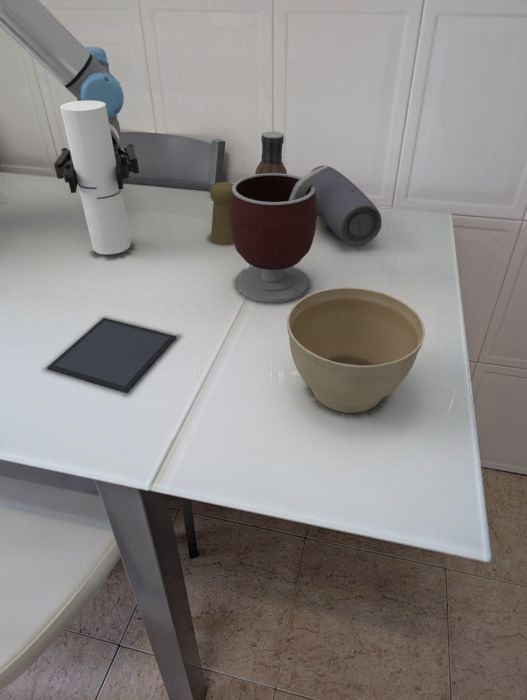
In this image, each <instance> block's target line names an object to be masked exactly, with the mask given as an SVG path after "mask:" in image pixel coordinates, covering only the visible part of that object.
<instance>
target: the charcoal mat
mask: <svg viewBox="0 0 527 700" xmlns="http://www.w3.org/2000/svg"><path fill="white" fill-rule="evenodd" d="M176 338H177V336H176V335H172V334H169V333H164V332H160V331H157V330H154V329H150V328H145V327H141V326H137V325H133V324H131V323H126V322H122V321H117V320H113V319H110V318H106V317H103V318H101V319H100V320H99V321H98V322H97V323H96V324H95V325H94V326H92V327H91V328H90V329H89V330H88V331H87V332H85V334H83V335H82V336H81V337H79V339H78V340H76V341H75V342H74V343H73V344H72V345H71V346H70V347H68V348H67V349H66V350H65V351H64V352H62V354H60V356H58V357H57V358H56V359H55V360H54V361H53V362H51V363H50V364H49V365H48V366H46V368H47V370H50V371H53V372H56V373H59V374H64V375H66V376H69V377H73V378H76V379H79V380H82V381H86V382H89V383H93V384H96V385H100V386H103V387H106V388H109V389H112V390H115V391H119V392H123V393H126V394H127V393H128V392H130V390H131V389H132V388H133V387H134V386H135V384H137V382H138V381H139V380H140V379H141V378H142V377H143V375H145V373H146V372H147V371H148V370H149V369H150V368H151V367H152V365H153V364H154V363H155V362H156V361H157V360H158V359H159V358H160V356H161V355H163V353H164V352H165V351H166V350H167V349H168V348H169V346H170V345H171V344H172V343H173V342H174V341H175V340H176Z"/></svg>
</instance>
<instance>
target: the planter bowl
mask: <svg viewBox="0 0 527 700" xmlns="http://www.w3.org/2000/svg"><path fill="white" fill-rule="evenodd" d="M286 329H287V333H288V337H289V338H288V339H289V348H290V353H291V357H292V360H293V364H294V366H295V367H296V370H297V371H298V373H299V376H300V377H301V378H302V380H303V381H304V383H305V384H306V385H307V387H308V388H309V389H310V390H311V392H312V395H313V396H314V398H315V399H316V400H317V401H318V402H319V403H320V404H321V405H323V406H324V407H327V408H328V409H331V410H332V411H336V412H340V413H346V414H355V413H356V414H357V413H362V412H366V411H369V410H370V409H373V408H374V407H376V406H377V405H378V404H379V403H380V402H381V401H382V399H384V398H385V397H387V396H389V395H390V394H391V393H392V392H393V391H395V390H396V389H397V388H398V387H399V386H400V385H401V384H402V382H403V381H404V380H405V379H406V378H407V376H408V375H409V373H410V371H411V370H412V368H413V367H414V364H415V362H416V359H417V357H418V354H419V352H420V350H421V348H422V346H423V343H424V340H425V335H426V329H425V325H424V322H423V320H422V318H421V316H420V315H419V313H418V312H417V311H416V310H414V308H413V307H412V306H410V305H409V304H407V303H406V302H405V301H403V300H401V299H400V298H397V297H395V296H394V295H391V294H388V293H385V292H382V291H379V290H374V289H370V288H363V287H352V286H351V287H350V286H349V287H348V286H347V287H346V286H343V287H342V286H341V287H329V288H325V289H321V290H317V291H314V292H311V293H309V294H307V295H306V296H303V297H302V298H300V299H299V300H298V301H297V302H296V303H294V305H293V306H292V307H291V308H290V311H289V313H288V315H287V319H286Z"/></svg>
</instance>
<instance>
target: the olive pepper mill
mask: <svg viewBox="0 0 527 700" xmlns="http://www.w3.org/2000/svg"><path fill="white" fill-rule="evenodd" d="M233 184H234V183H231V182H228V181H220V182H215V183H214V184H212V186H211V187H210V190H209V196H210V199H211V201H212V216H211V217H212V218H211V229H210V231H211V233H210V240H211V241H212V242H213V243H215V244H218V245H219V244H220V245H231V244H234V242H233V239H232V234H231V229H230V201H231V195H232V186H233Z"/></svg>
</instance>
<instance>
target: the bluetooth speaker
mask: <svg viewBox="0 0 527 700" xmlns="http://www.w3.org/2000/svg"><path fill="white" fill-rule="evenodd" d="M324 166H325V165H319V166H316V167H314V168H313V169H312V170H311V171H310V172H312V171H314V170H317V169H319V168H321V167H324ZM328 167H329V171H326V172H324V173H322V174H321V175H319V176H318V177H317V178H316V179H315V180H314V181H313V183H312V184H313V185H314V186H315V196H316V205H317V216H318V217H319V218H320V219H321V221H322V222H323V223H324V224H325V225H326V226H327V227H328V228H329V229H330V230H331V231H332V233H333V234H334V235H335V236H336V237H338V238H339V239H340V240H342V241H343V242H344V243H346V244H347V245H349V246H351V247H360V246H365V245H367V244H369V243H371V242H372V241H374V239H375V238H377V236H378V235H379V233H380V231H381V229H382V225H383V223H382V222H383V221H382V216H381V212H380V211H379V210H378V208H377V207H376V205H375V204H374V203H373V202H372V201H371V199H370V198H369V197H368V196H367V195H366V194H365V193H364V192H363V191H362V190H361V188H359V187H358V186H357V185H356V184H354V182H352V181H351V180H350V179H348V177H346V176H345V175H343V173H342V172H339V170H337V169H335V168H334V167H331V166H329V165H328Z"/></svg>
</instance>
